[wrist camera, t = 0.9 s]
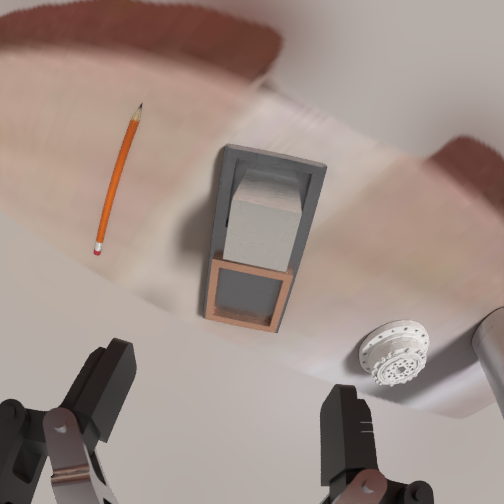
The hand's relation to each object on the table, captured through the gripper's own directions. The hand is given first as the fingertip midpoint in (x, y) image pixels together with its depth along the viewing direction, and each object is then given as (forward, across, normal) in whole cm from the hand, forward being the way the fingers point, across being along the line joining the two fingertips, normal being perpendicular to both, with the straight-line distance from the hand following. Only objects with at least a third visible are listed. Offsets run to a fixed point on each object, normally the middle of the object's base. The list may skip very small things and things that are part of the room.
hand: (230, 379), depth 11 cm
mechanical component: (+20, -21, +16) cm, 33 cm away
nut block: (+19, 0, 0) cm, 19 cm away
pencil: (+21, +16, +1) cm, 26 cm away
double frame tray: (+20, 0, +6) cm, 21 cm away
